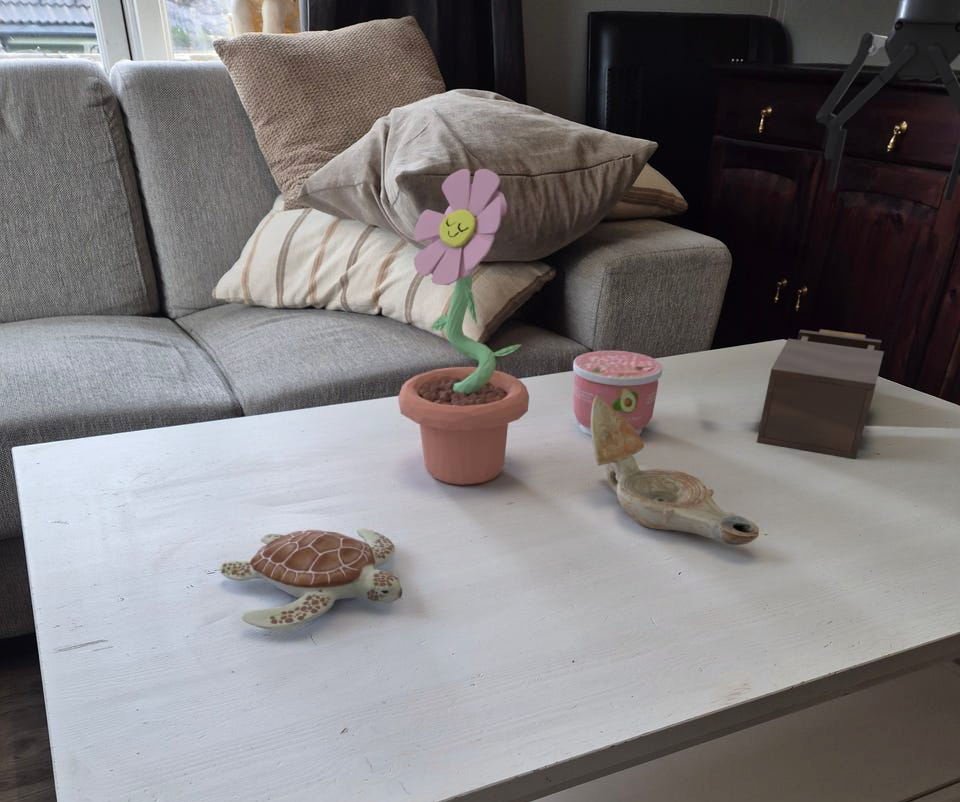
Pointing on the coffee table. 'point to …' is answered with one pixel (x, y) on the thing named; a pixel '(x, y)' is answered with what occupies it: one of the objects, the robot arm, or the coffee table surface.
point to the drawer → (840, 339)
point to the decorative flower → (463, 342)
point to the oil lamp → (659, 486)
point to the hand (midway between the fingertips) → (887, 194)
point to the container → (616, 386)
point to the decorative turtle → (317, 573)
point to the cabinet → (819, 397)
